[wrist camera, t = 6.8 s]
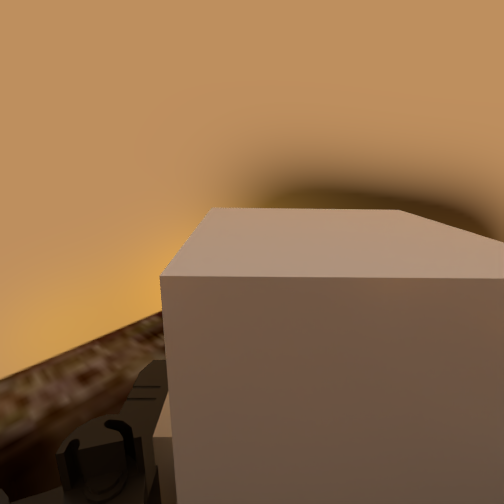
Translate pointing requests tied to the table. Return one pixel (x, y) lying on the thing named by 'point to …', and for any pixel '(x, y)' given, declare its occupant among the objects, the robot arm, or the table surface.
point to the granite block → (335, 359)
